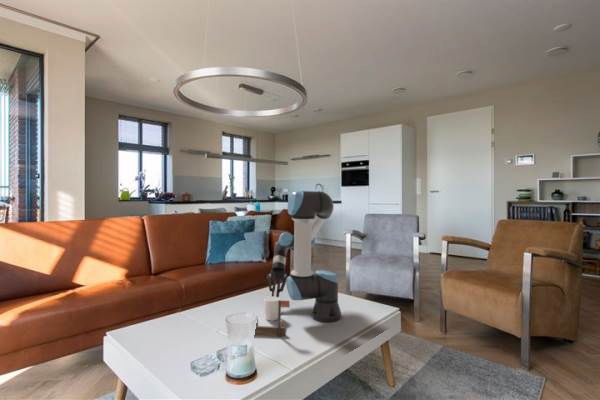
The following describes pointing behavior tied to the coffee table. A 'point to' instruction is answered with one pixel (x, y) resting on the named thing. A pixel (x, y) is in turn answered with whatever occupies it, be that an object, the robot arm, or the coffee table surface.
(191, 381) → the coffee table surface
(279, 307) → the wooden cup stand
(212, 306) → the coffee table surface
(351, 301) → the coffee table surface
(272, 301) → the white cup
